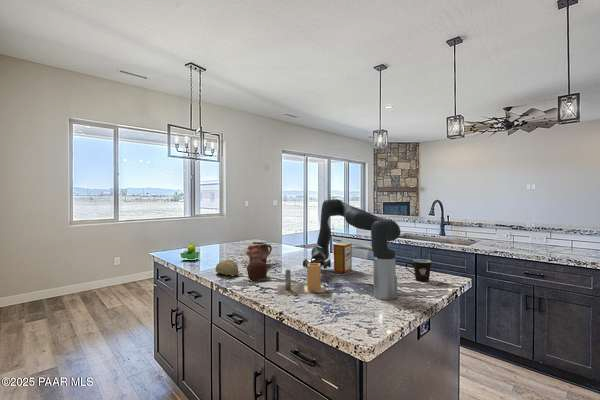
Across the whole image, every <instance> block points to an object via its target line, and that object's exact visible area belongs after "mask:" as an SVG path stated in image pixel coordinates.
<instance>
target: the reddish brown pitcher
mask: <svg viewBox="0 0 600 400" xmlns="http://www.w3.org/2000/svg"><path fill="white" fill-rule="evenodd" d="M272 250H273V248H272V245H271V244H268V243H267V242H264V241H263V242H262V241H261V242H260V241H256V242H255V241H253V242H251V243H249V245H248V246H247V248H246V251H245V254H246V255H247V257H248V258H249V263H250V262H252V261H255V260H260V261H263V262H265V263H266V264H267V261H268V258H269V256H270V254H271V252H272Z"/></svg>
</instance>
